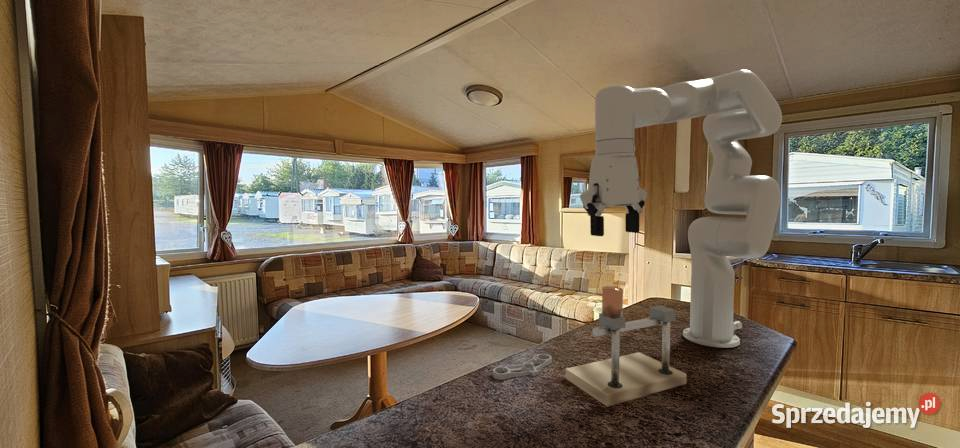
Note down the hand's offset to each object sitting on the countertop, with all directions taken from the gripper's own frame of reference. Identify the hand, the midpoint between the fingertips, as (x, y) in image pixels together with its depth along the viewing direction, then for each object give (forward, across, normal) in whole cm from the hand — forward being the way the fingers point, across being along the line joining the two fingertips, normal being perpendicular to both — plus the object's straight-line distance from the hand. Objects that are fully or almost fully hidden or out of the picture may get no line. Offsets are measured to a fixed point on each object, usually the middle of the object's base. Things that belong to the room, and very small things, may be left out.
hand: (615, 233), depth 80 cm
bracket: (+29, +17, -9) cm, 35 cm away
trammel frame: (+27, +2, +7) cm, 28 cm away
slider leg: (+27, +8, +7) cm, 29 cm away
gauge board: (+29, +2, +4) cm, 30 cm away
